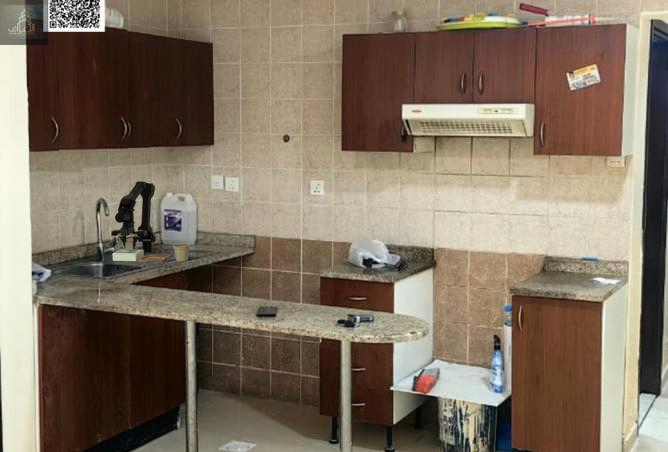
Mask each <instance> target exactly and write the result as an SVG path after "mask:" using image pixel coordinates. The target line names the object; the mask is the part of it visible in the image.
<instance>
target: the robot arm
mask: <svg viewBox="0 0 668 452" xmlns="http://www.w3.org/2000/svg"><path fill="white" fill-rule="evenodd" d="M155 191H156V186H155V185H154V183H153V182H151V183H150V182H146V181H144V180H143V181H141V180H139V181H136V182H135V185H134V186H133V187H132V189H131V190H130V192H128V194H126V195H123V197H122V198H121V199H120V200H119V205H118V208H117V213H115V216H114V219H115V222H116V223H118V224H121V223H122V226H121V227H120V229H114V230H112V231H111V234H110V236H111V237H117V238H118V239H120V241H121V242H122V244H123V246H124V249H126V248H125V243H126V242H127V237H128V236H131V235H133V236H132V242H133V249H135V248H136V245H137V242H138V243H141V250H144V253H154V252H155V250H154V249H153V243H155V242H156V240H157V238H156V236H155V233H154V230H153V227H152V226H151V213H152V212H151V211H152V210H151V209H152V199H153V197H154V195H155ZM139 196H141V198H142V200H141V202H142V203H141V220H140V221H141V222H140V225H139V226H137V230H136V229H135V224H136V221H135V215H134V213H135V211H136V210H135V209H134V208H135V206H136V204H137V198H138V197H139Z"/></svg>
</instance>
